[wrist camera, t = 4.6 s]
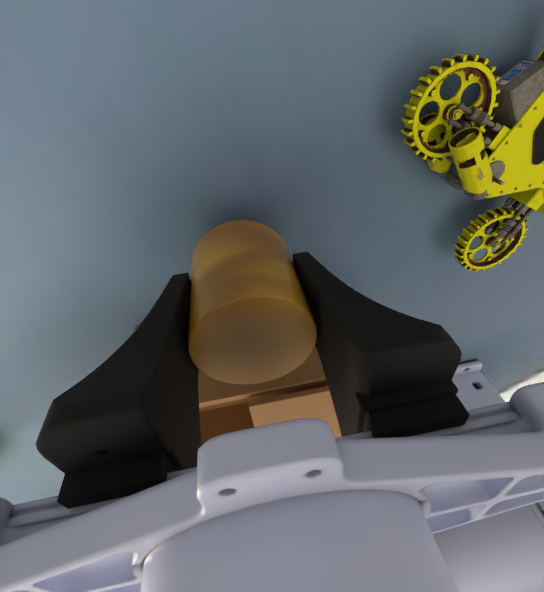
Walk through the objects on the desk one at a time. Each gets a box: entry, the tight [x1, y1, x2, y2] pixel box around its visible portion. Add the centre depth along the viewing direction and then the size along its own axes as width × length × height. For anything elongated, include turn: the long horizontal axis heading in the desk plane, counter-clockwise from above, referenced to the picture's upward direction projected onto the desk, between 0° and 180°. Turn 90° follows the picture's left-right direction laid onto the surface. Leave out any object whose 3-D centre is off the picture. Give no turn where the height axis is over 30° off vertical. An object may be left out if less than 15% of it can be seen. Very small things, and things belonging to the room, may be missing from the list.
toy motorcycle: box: [401, 46, 544, 272], centre depth 15 cm, size 12×4×7 cm
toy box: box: [135, 326, 342, 445], centre depth 22 cm, size 13×11×7 cm
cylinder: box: [188, 220, 317, 384], centre depth 13 cm, size 4×4×5 cm
